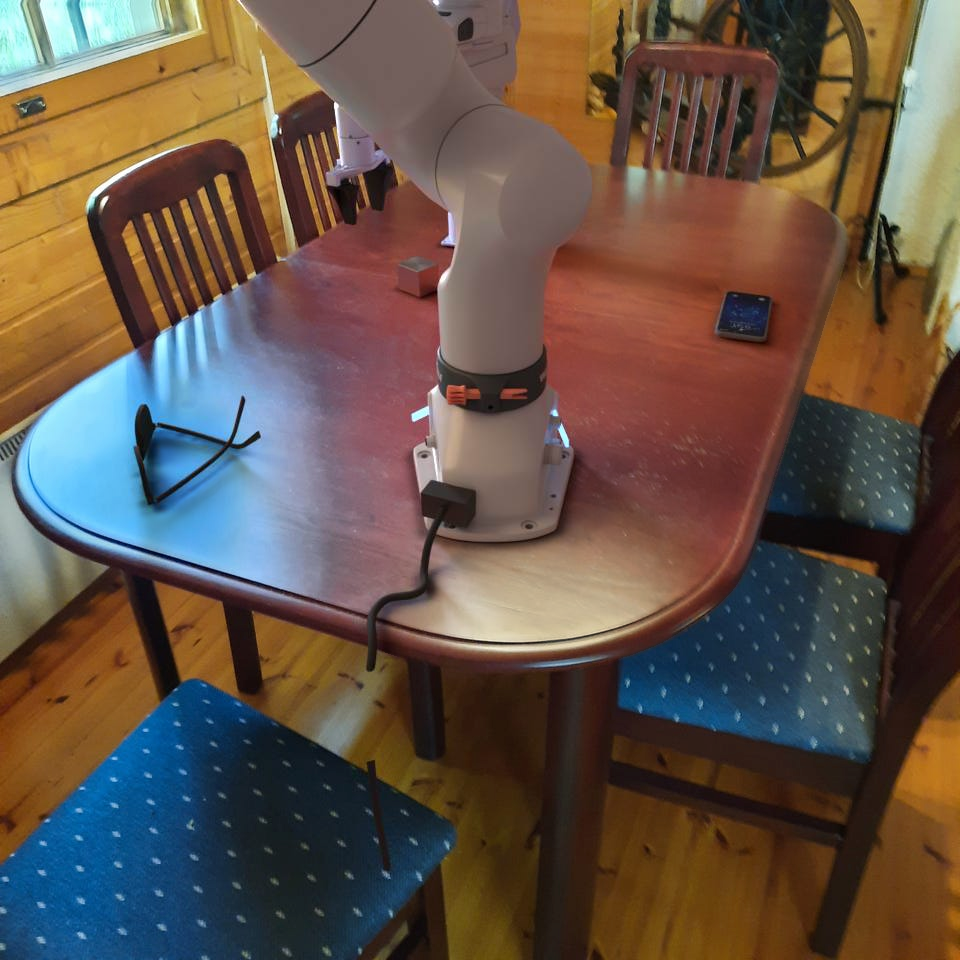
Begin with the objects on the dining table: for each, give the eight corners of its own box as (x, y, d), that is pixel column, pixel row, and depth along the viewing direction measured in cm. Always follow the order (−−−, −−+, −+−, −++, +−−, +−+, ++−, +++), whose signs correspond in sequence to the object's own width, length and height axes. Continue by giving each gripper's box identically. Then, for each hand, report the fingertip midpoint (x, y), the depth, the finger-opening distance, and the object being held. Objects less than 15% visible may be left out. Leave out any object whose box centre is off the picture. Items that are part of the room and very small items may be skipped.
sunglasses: (270, 486, 97) (262, 449, 94) (137, 510, 94) (125, 474, 91) (257, 411, 110) (250, 377, 107) (140, 430, 107) (130, 396, 104)
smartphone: (773, 295, 132) (766, 339, 121) (772, 301, 133) (765, 345, 121) (725, 289, 134) (713, 331, 123) (724, 295, 135) (712, 337, 123)
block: (418, 280, 142) (416, 255, 140) (439, 288, 139) (438, 263, 137) (398, 289, 140) (396, 263, 137) (419, 297, 137) (418, 271, 134)
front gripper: (488, 5, 118) (489, 111, 126) (402, 27, 104) (409, 145, 112) (528, 8, 115) (527, 116, 124) (446, 31, 101) (450, 151, 110)
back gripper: (363, 120, 145) (371, 200, 153) (307, 141, 135) (318, 226, 143) (397, 125, 142) (403, 206, 150) (342, 147, 132) (352, 233, 140)
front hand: (470, 130), depth 118 cm, fingers open, 8 cm apart
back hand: (364, 216), depth 146 cm, fingers open, 7 cm apart
